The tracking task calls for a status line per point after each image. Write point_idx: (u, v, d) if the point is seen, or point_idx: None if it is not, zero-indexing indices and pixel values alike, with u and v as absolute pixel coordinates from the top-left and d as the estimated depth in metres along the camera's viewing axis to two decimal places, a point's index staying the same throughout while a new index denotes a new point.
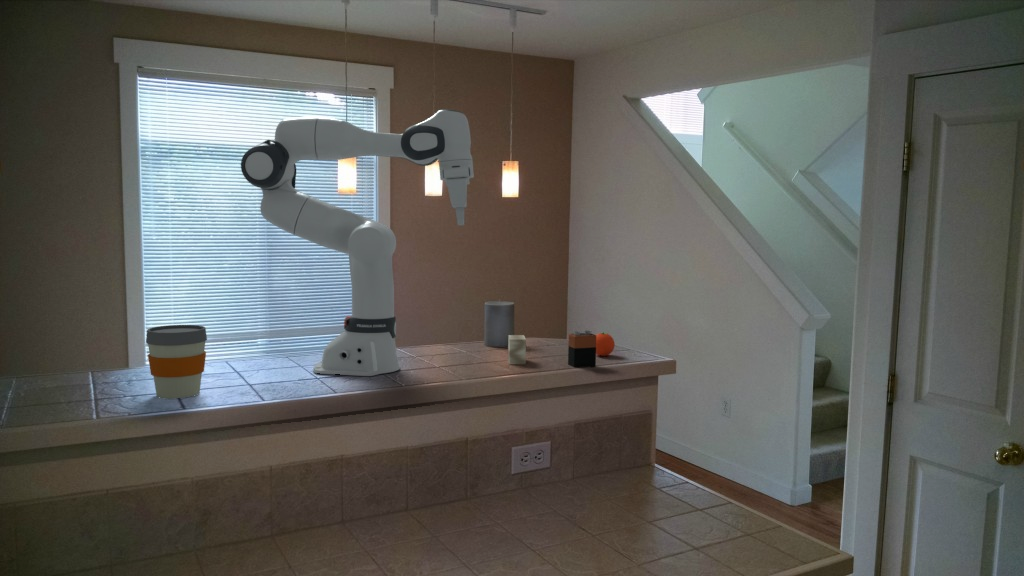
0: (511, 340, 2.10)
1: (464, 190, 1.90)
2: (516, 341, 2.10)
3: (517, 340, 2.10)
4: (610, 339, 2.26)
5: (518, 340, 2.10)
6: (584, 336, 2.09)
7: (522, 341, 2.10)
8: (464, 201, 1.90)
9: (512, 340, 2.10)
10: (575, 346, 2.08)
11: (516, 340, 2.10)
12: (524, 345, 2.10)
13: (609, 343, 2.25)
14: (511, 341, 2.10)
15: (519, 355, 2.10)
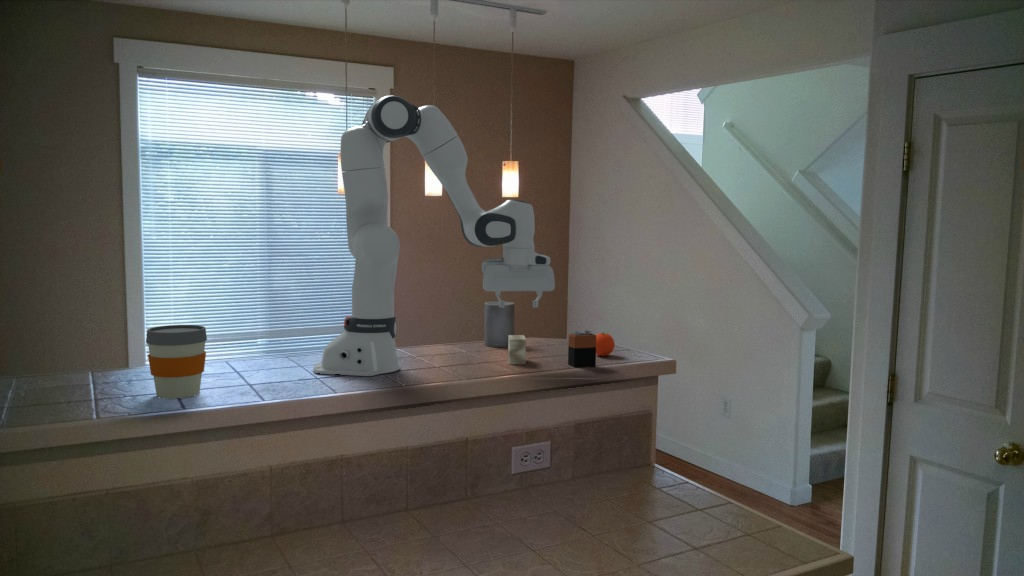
0: (511, 340, 2.10)
1: None
2: (516, 341, 2.10)
3: (517, 340, 2.10)
4: (610, 339, 2.26)
5: (518, 340, 2.10)
6: (584, 336, 2.09)
7: (522, 341, 2.10)
8: None
9: (512, 340, 2.10)
10: (575, 346, 2.08)
11: (516, 340, 2.10)
12: (524, 345, 2.10)
13: (609, 343, 2.25)
14: (511, 341, 2.10)
15: (519, 355, 2.10)
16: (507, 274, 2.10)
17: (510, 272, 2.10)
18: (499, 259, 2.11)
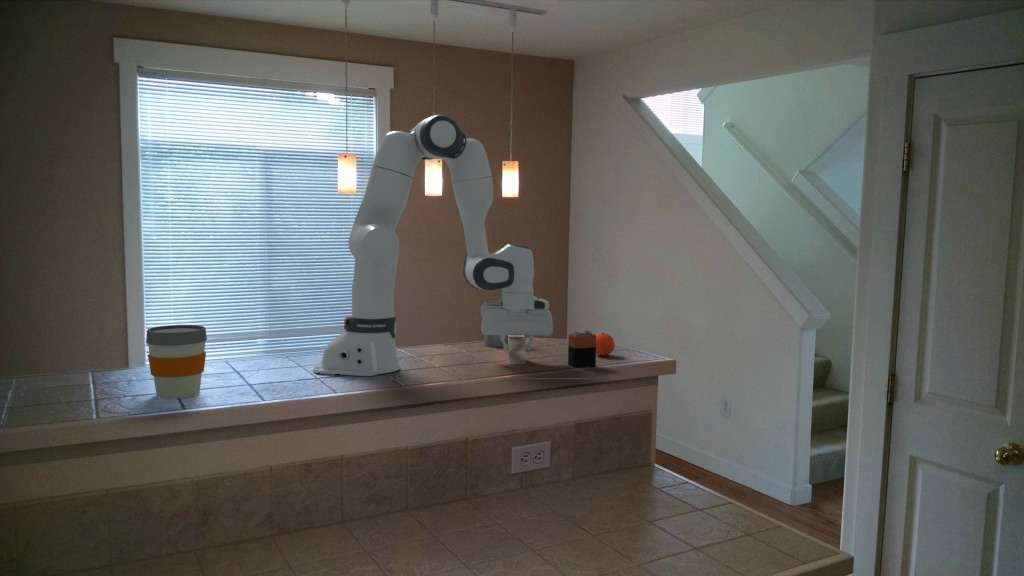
0: (511, 340, 2.10)
1: None
2: (516, 341, 2.10)
3: (517, 340, 2.10)
4: (610, 339, 2.26)
5: (518, 340, 2.10)
6: (584, 336, 2.09)
7: (522, 341, 2.10)
8: None
9: (512, 340, 2.10)
10: (575, 346, 2.08)
11: (516, 340, 2.10)
12: (524, 345, 2.10)
13: (609, 343, 2.25)
14: (511, 341, 2.10)
15: (519, 355, 2.10)
16: (506, 318, 2.12)
17: (509, 316, 2.11)
18: (498, 303, 2.12)
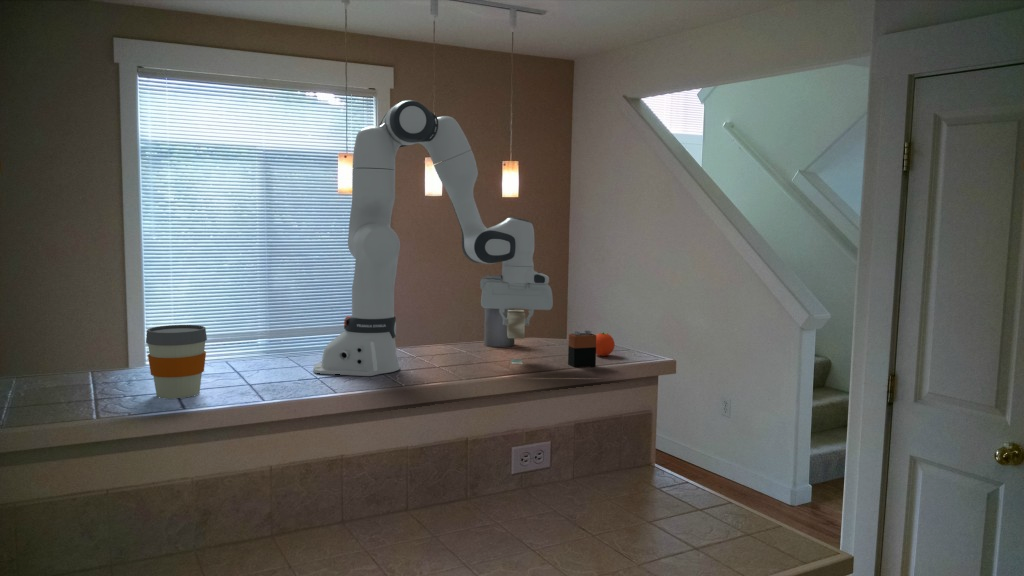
0: (510, 314, 2.09)
1: None
2: (515, 315, 2.09)
3: (516, 314, 2.09)
4: (610, 339, 2.26)
5: (517, 314, 2.09)
6: (584, 336, 2.09)
7: (521, 315, 2.09)
8: None
9: (511, 314, 2.09)
10: (575, 346, 2.08)
11: (515, 314, 2.09)
12: (523, 319, 2.09)
13: (609, 343, 2.25)
14: (510, 315, 2.09)
15: (518, 329, 2.10)
16: (506, 292, 2.11)
17: (508, 290, 2.11)
18: (498, 276, 2.11)
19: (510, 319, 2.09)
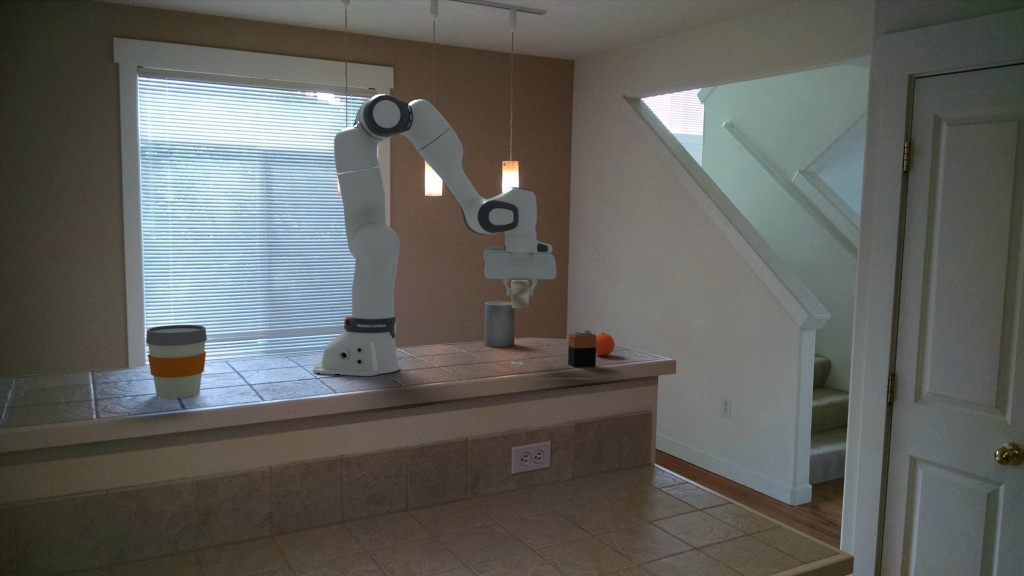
0: (514, 283, 2.09)
1: None
2: (519, 284, 2.10)
3: (520, 283, 2.09)
4: (610, 339, 2.26)
5: (521, 283, 2.10)
6: (584, 336, 2.09)
7: (525, 285, 2.10)
8: None
9: (515, 283, 2.09)
10: (575, 346, 2.08)
11: (519, 283, 2.09)
12: (527, 288, 2.10)
13: (609, 343, 2.25)
14: (514, 284, 2.09)
15: (522, 299, 2.10)
16: (509, 262, 2.11)
17: (512, 260, 2.11)
18: (501, 247, 2.12)
19: (514, 289, 2.10)
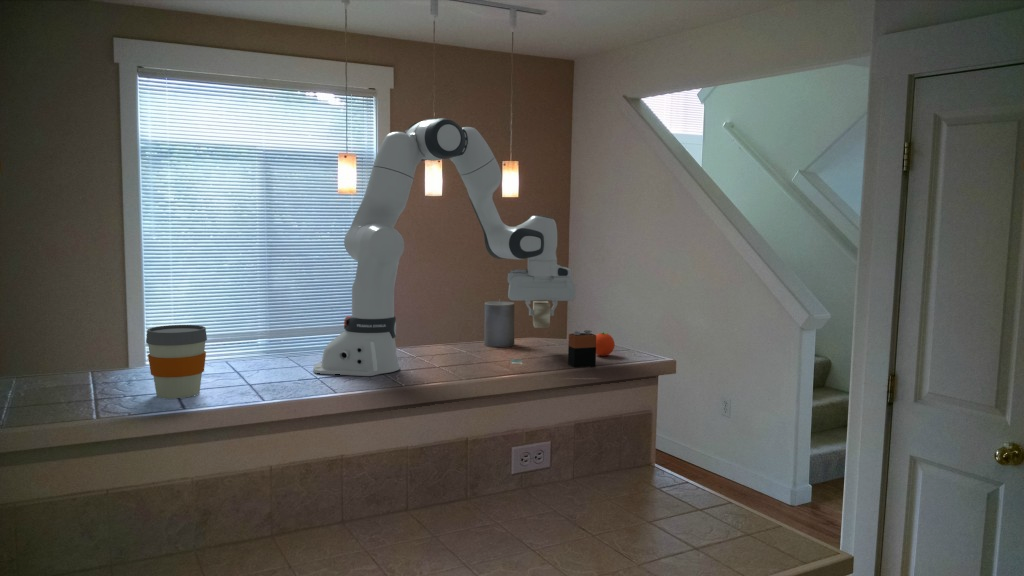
0: (536, 305, 2.25)
1: None
2: (541, 306, 2.25)
3: (542, 305, 2.25)
4: (610, 339, 2.26)
5: (543, 305, 2.25)
6: (584, 336, 2.09)
7: (546, 306, 2.25)
8: None
9: (537, 305, 2.25)
10: (575, 346, 2.08)
11: (541, 305, 2.25)
12: (548, 309, 2.25)
13: (609, 343, 2.25)
14: (536, 306, 2.25)
15: (543, 319, 2.25)
16: (531, 285, 2.26)
17: (534, 283, 2.26)
18: (524, 270, 2.27)
19: (536, 310, 2.25)
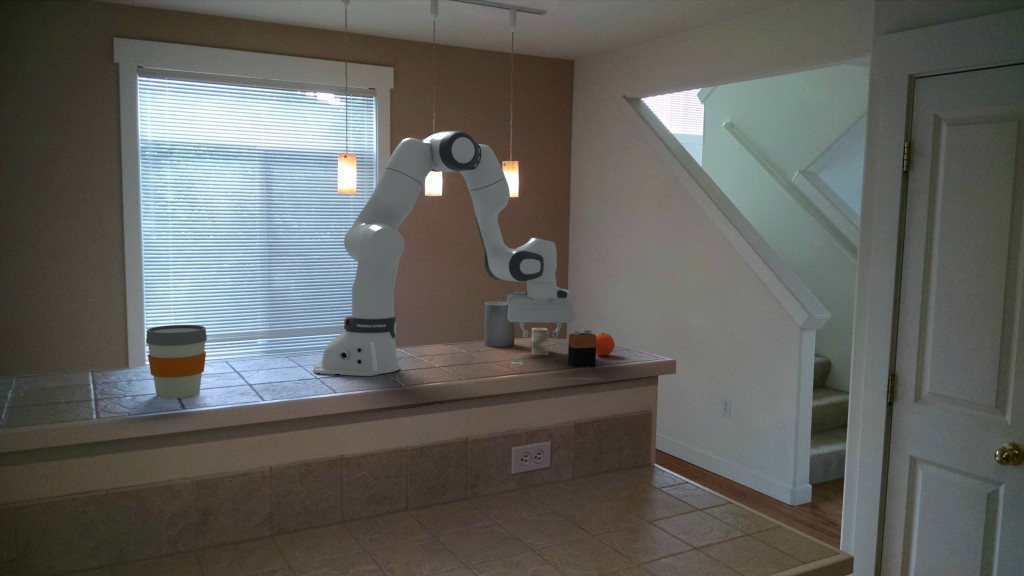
0: (535, 332, 2.25)
1: None
2: (540, 333, 2.25)
3: (541, 332, 2.25)
4: (610, 339, 2.26)
5: (541, 332, 2.25)
6: (584, 336, 2.09)
7: (545, 333, 2.25)
8: None
9: (536, 332, 2.25)
10: (575, 346, 2.08)
11: (540, 332, 2.25)
12: (547, 337, 2.26)
13: (609, 343, 2.25)
14: (535, 333, 2.25)
15: (542, 347, 2.26)
16: (530, 306, 2.27)
17: (533, 305, 2.27)
18: (523, 292, 2.27)
19: (535, 337, 2.25)
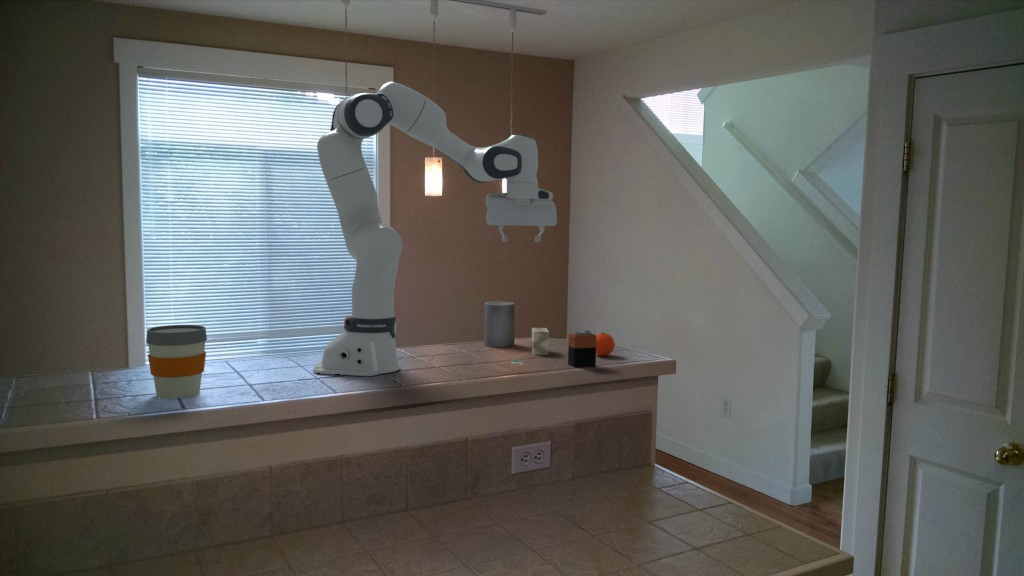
0: (535, 332, 2.25)
1: None
2: (540, 333, 2.25)
3: (541, 332, 2.25)
4: (610, 339, 2.26)
5: (541, 332, 2.25)
6: (584, 336, 2.09)
7: (545, 333, 2.25)
8: None
9: (536, 332, 2.25)
10: (575, 346, 2.08)
11: (540, 332, 2.25)
12: (547, 337, 2.26)
13: (609, 343, 2.25)
14: (535, 333, 2.25)
15: (542, 347, 2.26)
16: (510, 208, 2.15)
17: (513, 206, 2.15)
18: (503, 194, 2.15)
19: (535, 337, 2.25)
